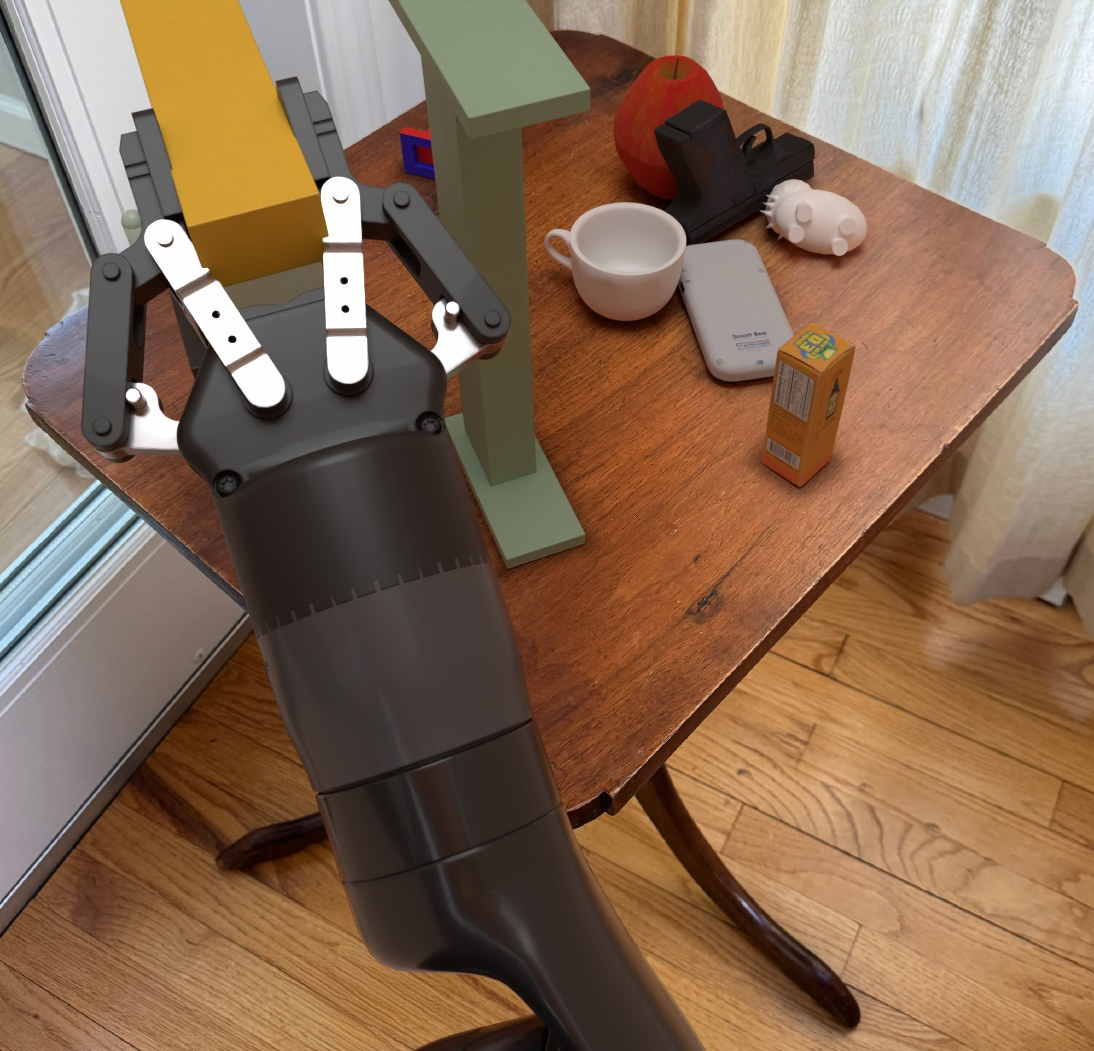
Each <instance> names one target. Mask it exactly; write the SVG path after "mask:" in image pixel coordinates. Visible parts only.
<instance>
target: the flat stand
mask: <svg viewBox="0 0 1094 1051" xmlns="http://www.w3.org/2000/svg"><path fill="white" fill-rule="evenodd" d="M387 1H388V2H389V4H390V6H391V8H392V9H393V10H394V12H395V14H396V15H397V17H398V19H399V21H400V23H401V24H402V26H403V27H404V29H405V31H406V33H407V35H408V36H409V38H410V40H411V41H412V43H413V44H414V46H415V48H416V50H417V51H418V53H419V55H420V60H421V68H422V70H421V71H422V77H423V87H424V93H425V94H424V95H425V103H426V111H427V113H426V114H427V120H428V126H429V130H430V138H431V147H432V155H433V164H434V172H435V179H434V181H435V188H436V197H437V205H438V214H439V220H440V221H441V223H442V224H443V225H444V226H445V228H446V229H447V230H448V232H449V233H450V234H451V236H452V237H453V238H454V240H455V241H456V242H457V244H458V245H459V246H460V247H461V249H462V250H463V251H464V253H465V254H466V255H467V257H468V258H469V259H470V261H471V262H472V263H473V265H474V266H475V267H476V269H477V270H478V271H479V272H480V274H481V275H482V276H483V278H484V279H485V280H486V282H487V283H488V284H489V286H490V287H491V288H492V290H493V291H494V292H495V293H496V295H497V296H498V297H499V299H500V300H501V301H502V303H503V304H504V305H505V307H506V308H507V309H508V311H509V313H510V316H511V325H510V328H509V330H508V333H507V335H506V338H505V340H504V343H503V345H502V348H501V350H500V352H499V354H498V355H497V356H495V357H494V358H492V359H489V360H481V359H476V360H475V361H473V362H472V363H471V364H469V365H468V366H466V367H465V368H463V369H462V370H461V371H459V372H458V373H457V375H458V376H457V377H458V384H459V392H460V394H459V395H460V401H461V402H460V403H461V410H462V412H459V413H457V414H456V413H455V414H454V415H450V416H446V417H445V422H446V426H447V429H448V432H449V435H450V438H451V441H452V444H453V447H454V450H455V453H456V456H457V459H458V462H459V465H460V468H461V471H462V473H463V474H464V476H465V479H466V481H467V484H468V485H469V487H470V490H471V492H472V494H473V497H474V499H475V501H476V503H477V505H478V508H479V510H480V512H481V514H482V516H483V518H484V521H485V524H486V526H487V528H488V530H489V533H490V534H491V537H492V538H493V541H494V543H495V545H496V547H497V550H498V552H499V555H500V557H501V559H502V561H503V563H504V566H505V567H506V569H508V570H509V569H512V568H515V567H518V566H521V565H524V564H527V563H530V562H533V561H536V560H539V559H542V558H545V557H548V556H551V555H554V554H557V553H560V552H564V551H567V550H570V549H572V548H576V547H579V546H582V545H585V544H586V533H585V531H584V529H583V526H582V524H581V522H580V521H579V519H578V517H577V515H576V512H575V511H574V508H573V507H572V505H571V503H570V501H569V499H568V497H567V495H566V493H565V491H564V489H563V487H562V486H561V483H560V482H559V480H558V477H557V476H556V473H555V472H554V470H553V467H552V465H551V464H550V462H549V460H548V457H546V454H545V452H544V451H543V448H542V446H541V444H540V442H539V439H538V438H537V437H536V431H535V430H536V428H535V408H534V389H533V388H534V385H533V384H534V383H533V382H534V381H533V362H532V361H533V360H532V342H531V341H532V338H531V319H530V318H531V316H530V295H529V294H530V293H529V292H530V291H529V271H528V270H529V269H528V268H529V266H528V246H527V224H526V223H527V222H526V202H525V201H526V199H525V181H524V180H525V179H524V159H523V158H524V156H523V133H522V132H523V131H522V129H523V128H525V127H530V126H533V125H537V124H541V123H545V122H550V121H554V120H557V119H558V120H559V119H561V118H566V117H569V116H570V117H571V116H574V115H579V114H582V113H586V112H590V110H591V88H590V85H588V82H586V80H585V79H584V78H583V77H582V75H581V73H580V72H579V71H578V70H577V68H576V67H575V66H574V63H572V61H571V60H570V58H569V57H568V56H567V55H566V53H565V52H564V51H563V49H562V48H561V47H560V45H559V44H558V42H557V41H556V40H555V38H554V37H553V35H552V33H550V31H549V29H547V27H546V26H545V25H544V23H543V22H542V20H541V19H540V18H539V16H538V15H537V14H536V12H535V11H534V10H533V8H532V7H531V5H530V3H528V1H527V0H387Z"/></svg>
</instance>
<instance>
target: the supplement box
mask: <svg viewBox="0 0 1094 1051" xmlns="http://www.w3.org/2000/svg"><path fill="white" fill-rule="evenodd" d="M855 352H856V344H855V343H853V342H851V341H849V340H847V339H845V338H843V337H841V336H839V335H837V334H835V333H834V332H832V331H830V330H828V329H827V328H824V327H822V326H820V325H819V324H817V323H814V322H809V323H808V324H807V325H805V326H804V327H803V328H802V329H800V330H799V331H798V332H797V333H796V334H794V336H793V337H792V338H791V339H790V340H788V341H787V342H786V343H785V344H784V345H782V346H781V347H780V348H779V349H778V350H777V357H776V365H775V372H774V379H772V386H771V393H770V399H769V400H770V401H769V407H768V413H767V422H766V427H765V434H764V442H763V448H762V456H761V463H762V464H763V465H764V466H766V467H768V468H769V469H770V470H772V471H773V472H775V473H777V474H778V475H779V476H781V477H782V478H784V479H786V480H788V481H789V482H791V483H793V485H796V486H797V487H800V488H801V487H802V486H803V485H805V484H806V483H807V482H808V481H809V480H810V479H811V478H813V477H814V476H815V475H816V474H817V473H818V472H819V471H820V470H821V469H822V468H824V466H825V465H826V464H828V463H829V462H830V461H831V459H832V456H833V451H834V447H835V444H836V440H837V435H838V430H839V425H840V422H841V417H842V413H843V408H844V403H845V400H846V394H847V390H848V386H849V382H850V381H849V379H850V376H851V371H852V366H853V362H854V357H855Z"/></svg>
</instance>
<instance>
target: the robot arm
mask: <svg viewBox="0 0 1094 1051" xmlns="http://www.w3.org/2000/svg"><path fill="white" fill-rule="evenodd" d="M275 89H276V91H277V96H278V98H279V101H280V103H281V106H282V108H283V110H284V113H285V115H286V117H287V120H288V122H289V125H290V127H291V129H292V132H293V134H294V136H295V138H296V139H297V141H298V143H299V146H300V148H301V151H302V153H303V155H304V158H305V160H306V162H307V165H308V167H309V170H310V172H311V174H312V177H313V179H314V182H315V184H316V186H317V189H318V191H319V193H320V198H321V202H322V206H323V211H324V215H325V219H326V224H327V228H328V232H329V237H327V238H323V264H324V287H321V288H317V289H313V290H309V291H306V292H304V293H302V294H300V295H298V296H297V297H295V298H293V299H291V300H289V301H288V302H286V303H284V304H280V305H253V306H249V307H245V308H241V309H236V307H235V306H234V304H233V303H232V301H231V300H230V298H229V297H228V295H227V294H226V292H225V290H224V289H223V287H222V286H221V284H220V283H219V281H218V280H217V278H216V277H215V276H214V275H213V274H212V273H211V272H210V270H209V269H208V268H204V269H203V268H202V267H201V265H200V262H199V259H198V257H197V254H196V251H195V248H194V246H193V244H192V243H191V241H192V240H191V237H190V234H189V231H188V228H187V225H186V222H185V219H184V215H183V212H182V208H181V205H180V202H179V198H178V195H177V192H176V188H175V185H174V181H173V178H172V175H171V170H172V166H171V162H170V159H169V156H168V152H167V149H166V146H165V142H164V139H163V136H162V132H161V129H160V126H159V123H158V120H157V117H156V114H155V111H154V108H152V107H150V108H146V109H141V110H138V111H133V112H131V113H130V114H131V118H132V120H133V124H134V127H135V130H134V131H129V132H126V133H120V140H119V148H118V152H119V155H120V158H121V161H122V164H123V167H124V171H125V174H126V178H127V180H128V183H129V187H130V190H131V193H132V196H133V199H134V203H135V207H136V210H137V211H138V213H139V216H140V219H141V224H142V228H141V233H140V236H139V238H138V239H137V241H136V242H135V243H134V244H133V245H131V246H130V245H129V246H128V247H127V248H125V249H124V250H122V251H121V252H119V253H116V252H108V253H102V254H100V255H99V256H98V257H96V258H95V259H94V261H93V262H92V264H91V267H90V273H89V274H90V275H89V289H88V290H89V291H88V305H87V307H88V308H87V324H86V339H85V356H84V370H83V371H84V374H83V387H82V405H81V408H82V409H81V420H80V432H81V434H82V436H83V437H84V439H85V440H86V441H87V442H88V443H89V445H90V446H91V447H92V448H93V449H94V450H95V451H96V452H97V453H99V454H100V455H101V456H102V457H104V458H105V459H106V460H108V461H109V462H112V463H115V464H122V463H123V464H124V463H127V462H129V461H131V460H132V459H134V458H135V457H136V456H156V457H182V458H183V460H184V461H185V462H186V463H187V465H188V466H189V467H190V468H191V469H192V471H193V472H195V473H196V474H197V475H198V476H199V477H201V479H202V480H203V481H204V482H205V484H206V485H207V488H208V490H209V492H210V495H211V497H212V500H213V504H214V507H215V511H216V513H217V517H218V520H219V523H220V526H221V529H222V532H223V536H224V540H225V543H226V546H227V548H228V551H229V555H230V558H231V561H232V564H233V568H234V571H235V574H236V577H237V580H238V584H239V587H240V590H241V593H242V596H243V600H244V603H245V607H246V610H247V613H248V616H249V620H250V622H251V624H252V625H251V626H252V628H253V632H254V635H255V638H256V641H257V644H258V648H259V651H260V655H261V658H262V660H263V669H264V672H265V675H266V678H267V680H268V682H269V684H270V687H271V690H272V693H273V696H274V700H275V702H276V706H277V709H278V712H279V715H280V717H281V718H280V719H281V720H282V723H283V727H284V728H285V730H286V733H287V735H288V737H289V739H290V742H291V744H292V746H293V748H294V750H295V752H296V754H297V756H298V758H299V760H300V762H301V765H302V767H303V769H304V771H305V773H306V776H307V779H308V781H309V784H310V786H311V790H312V792H315V793H316V794H315V796H314V798H315V801H316V804H317V807H318V808H317V809H318V811H319V814H320V817H321V820H322V824H323V828H324V831H325V834H326V836H327V839H328V840H327V841H328V843H329V846H330V850H331V852H332V857H333V859H334V863H335V866H336V869H337V872H338V874H339V878H340V879H341V885H342V888H343V891H344V895H345V897H346V900H347V904H348V906H349V909H350V912H351V915H352V919H353V922H354V925H355V928H356V930H357V932H358V935H359V937H360V939H361V941H362V943H363V945H364V946H365V948H366V950H367V951H368V952H369V953H370V955H371V957H372V958H373V959H374V960H375V961H376V962H377V963H378V964H380V965H382V966H383V967H386V968H387V969H388V968H389V969H390V970H393V971H399V972H404V973H405V972H406V973H417V974H419V973H420V974H452V975H453V974H455V975H457V974H458V975H468V976H469V975H470V976H480V977H484V978H487V979H489V980H490V979H491V980H494V981H496V982H499V983H501V984H503V985H504V986H506V987H507V988H509V990H511V991H512V993H514V994H515V995H516V996H517V997H518V998H519V999H520V1000H521V1001H522V1002H523V1003H524V1004H525V1005H526V1006H527V1007H528V1008H529V1009H530V1010H531V1011H532V1013H531V1014H527V1015H523V1016H518V1017H515V1018H512V1019H511V1018H510V1019H508V1020H504V1021H500V1022H495V1023H492V1024H487V1025H482V1026H478V1027H475V1028H470V1029H467V1030H463V1031H459V1032H456V1033H453V1034H449V1035H446V1036H443V1037H440V1038H438V1039H435V1040H432V1041H430V1042H428V1043H425V1044H423V1045H421V1046H419V1047H417V1048H415V1049H412V1051H707V1050H706V1048H705V1046H704V1044H703V1043H702V1042H701V1040H700V1038H699V1036H698V1035H697V1033H696V1030H695V1029H694V1028H693V1026H692V1025H691V1023H690V1021H689V1019H688V1018H687V1016H686V1015H685V1013H684V1012H683V1010H682V1009H681V1007H680V1006H679V1004H678V1003H677V1001H676V1000H675V999H674V997H673V996H672V994H671V993H670V991H669V990H668V988H667V986H665V984H664V982H663V981H662V980H661V978H660V977H659V976H658V974H657V972H656V971H655V969H654V968H653V967H652V966H651V964H650V962H649V961H648V959H647V958H646V957H645V955H644V954H643V953H642V950H640V948H639V946H638V945H637V943H636V942H635V940H634V938H633V937H632V936H631V934H630V932H629V931H628V929H627V927H626V926H625V924H624V922H623V921H622V919H621V917H620V916H619V914H618V912H617V911H616V909H615V907H614V905H613V903H612V902H611V900H610V899H609V897H608V895H607V894H606V892H605V890H604V888H603V887H602V885H601V883H600V882H599V880H598V878H597V876H596V874H595V872H594V870H593V869H592V867H591V865H590V864H589V862H588V859H587V858H586V855H585V854H584V852H583V849H582V848H581V846H580V844H579V841H578V839H577V836H576V834H575V831H574V829H573V826H572V824H571V820H570V817H569V815H568V812H567V809H566V806H565V804H564V801H563V798H562V795H561V791H560V790H559V786H558V784H557V783H558V782H557V779H556V777H555V774H554V771H553V768H552V765H551V762H550V759H549V756H548V753H547V750H546V747H545V744H544V741H543V738H542V735H541V732H540V729H539V726H538V723H537V720H536V719H535V718H533V716H534V714H535V713H534V710H533V706H532V703H531V699H530V694H529V690H528V689H529V688H528V685H527V684H528V683H527V680H526V679H527V678H526V674H525V668H524V662H523V658H522V654H521V653H522V652H521V648H520V644H519V641H518V637H517V635H516V631H515V627H514V625H513V622H512V621H513V620H512V618H511V616H510V612H509V609H508V606H507V603H506V600H505V597H504V594H503V591H502V588H501V585H500V582H499V579H498V575H497V574H496V570H495V566H494V563H493V562H492V558H491V555H490V552H489V550H488V546H487V544H486V541H485V540H486V539H485V537H484V534H483V532H482V529H481V525H480V523H479V519H478V516H477V513H476V510H475V508H474V504H473V501H472V498H471V496H470V492H469V489H468V485H467V484H466V480H465V478H464V475H463V474H464V473H463V470H462V468H461V465H460V463H459V461H458V459H457V456H456V453H455V450H454V447H453V444H452V441H451V438H450V435H449V432H448V429H447V426H446V422H445V418H446V417H445V400H446V394H447V390H448V380H449V379H451V378H452V377H454V376H455V375H456V374H458V372H459V371H461V370H462V369H463V368H465V367H466V366H468V365H469V364H471V363H472V362H473V361H475V360H476V359H481V360H489V359H492V358H494V357H495V356H497V355H498V354H499V352H500V350H501V348H502V345H503V343H504V340H505V338H506V335H507V333H508V330H509V328H510V325H511V316H510V313H509V311H508V309H507V308H506V307H505V305H504V304H503V303H502V301H501V300H500V299H499V297H498V296H497V295H496V293H495V292H494V291H493V290H492V288H491V287H490V286H489V284H488V283H487V282H486V280H485V279H484V278H483V276H482V275H481V274H480V272H479V271H478V270H477V269H476V267H475V266H474V265H473V263H472V262H471V261H470V259H469V258H468V257H467V255H466V254H465V253H464V251H463V250H462V249H461V247H460V246H459V245H458V244H457V242H456V241H455V240H454V238H453V237H452V236H451V234H450V233H449V232H448V230H447V229H446V228H445V226H444V225H443V224H442V223H441V221H440V218H439V217H438V215H436V213H435V211H433V209H432V208H431V207H430V206H429V204H428V202H426V199H424V198H423V196H422V195H421V194H420V192H419V191H418V189H416V188H415V187H414V186H413V185H412V184H410V183H407V182H404V181H397V182H394V183H391V184H389V185H388V186H387V187H381V186H372V185H367V184H364V183H362V182H361V181H360V180H358V179H357V178H356V177H355V176H354V175H353V173H352V171H351V169H350V166H349V163H348V159H347V157H346V154H345V150H344V148H343V145H342V142H341V139H340V135H339V132H338V131H337V127H336V124H335V121H334V118H333V115H332V111H331V109H330V106H329V103H328V101H327V100H326V99H325V98H324V97H323V95H321V93H320V92H319V91H318V90H312V91H307V92H303V89H302V86H301V83H300V80H299V77H298V76H297V75H295V76H291V77H287V78H281V79H277V80H275ZM363 240H373V241H383V242H385V243H386V244H387V245H388V247H389V248H390V250H391V251H392V252H393V253H394V255H395V256H396V257H397V259H398V260H399V261H400V263H401V264H402V265H403V266H404V268H405V269H406V270H407V272H408V273H409V275H411V277H412V278H413V280H414V281H415V283H416V284H417V285H418V286H419V287H420V289H421V290H422V291H423V293H424V295H426V297H427V298H428V299H429V301H430V302H431V303H432V305H433V306H434V307H433V309H432V311H431V312H432V313H431V318H430V330H431V332H432V334H433V336H434V338H435V342H436V343H435V345H434V347H433V348H432V349H429V348H428V347H426V346H425V345H424V344H423V343H421V342H419V341H418V340H417V339H415V338H414V337H413V336H412V335H410V334H409V333H407V332H406V331H404V329H402V328H401V327H399V326H398V325H396V324H395V323H393V322H392V321H391V320H389V319H388V318H386V317H385V316H384V315H382V314H381V313H380V312H378V311H377V310H376V309H374V307H372V306H371V305H369V304H367V303H366V292H365V291H366V290H365V289H366V288H365V271H364V270H365V269H364V251H363V250H364V248H363ZM168 289H169V290H170V291H171V293H172V294H173V296H174V297H175V299H176V301H177V302H178V304H179V305H180V307H181V308H182V310H183V311H184V313H185V314H186V316H187V318H188V319H189V321H190V322H191V324H192V326H193V328H194V329H195V331H196V333H197V334H198V336H199V337H200V339H201V340H202V342H203V344H204V345H205V347H206V348H207V350H206V352H205V355H204V358H203V360H202V363H201V365H200V368H199V371H198V373H197V376H196V379H195V380H194V381H193V384H192V387H191V390H190V392H189V395H188V397H187V400H186V403H185V405H184V408H183V410H182V413H181V414H180V419H179V420H175V419H172V418H170V417H167V416H166V415H165V411H164V404H163V401H162V400H161V398H160V396H159V395H158V393H157V392H156V391H155V389H154V388H153V387H152V386H150V385H149V384H146V383H144V371H145V370H144V367H145V349H146V348H145V347H146V332H147V313H148V312H147V310H148V303H149V302H151V301H152V300H154V299H155V298H156V297H158V296H159V295H161V294H163V293H164V292H166V291H167V290H168ZM169 290H168V291H169Z"/></svg>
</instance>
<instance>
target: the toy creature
mask: <svg viewBox="0 0 1094 1051" xmlns="http://www.w3.org/2000/svg"><path fill="white" fill-rule="evenodd" d="M766 196H767V197H769V198H768V200H767V203H764V204H765V210H760V212H761V214H764V215H765V217H766V220H767V223H768V224H767V225H766V226H765V227H764V228H763V230H767V229H772V230H773V231H774V233H776V234H778V236H777V239H775V240H776V241H779V240H780V239H782V238H784V239H786V240H787V241H788V242H790V243H791V244H793V245H794V246H796V247H798V248H800V249H803V250H805V251H808V252H810V253H815V254H820V255H835V256H837V257H841V256H843V255H845V254H846V253H847V252H851V251H852V250H854V249H856V248H857V247H859V246H860V245H862V243H863V241H864V240H865V239H866V237H867V233H868V223H867V220H866V216H865V214H863V212H862V211H861V209H860V208H859V207H858V206H857V205H856V204H854V203H853V202H852V201H851V200H849V199H848V198H846V197H844V196H842V195H839V194H837V193H835V192H832V191H827V190H822V189H813V188H812V187H811V186H810V185H809V183H807V182H803V181H801V180H797V179H796V180H795V179H792V180H787V181H784V182H782V183H781V184H778V185H776V186H775V187H774V188H773V190H772V192H771V194H770V195H766Z"/></svg>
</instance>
